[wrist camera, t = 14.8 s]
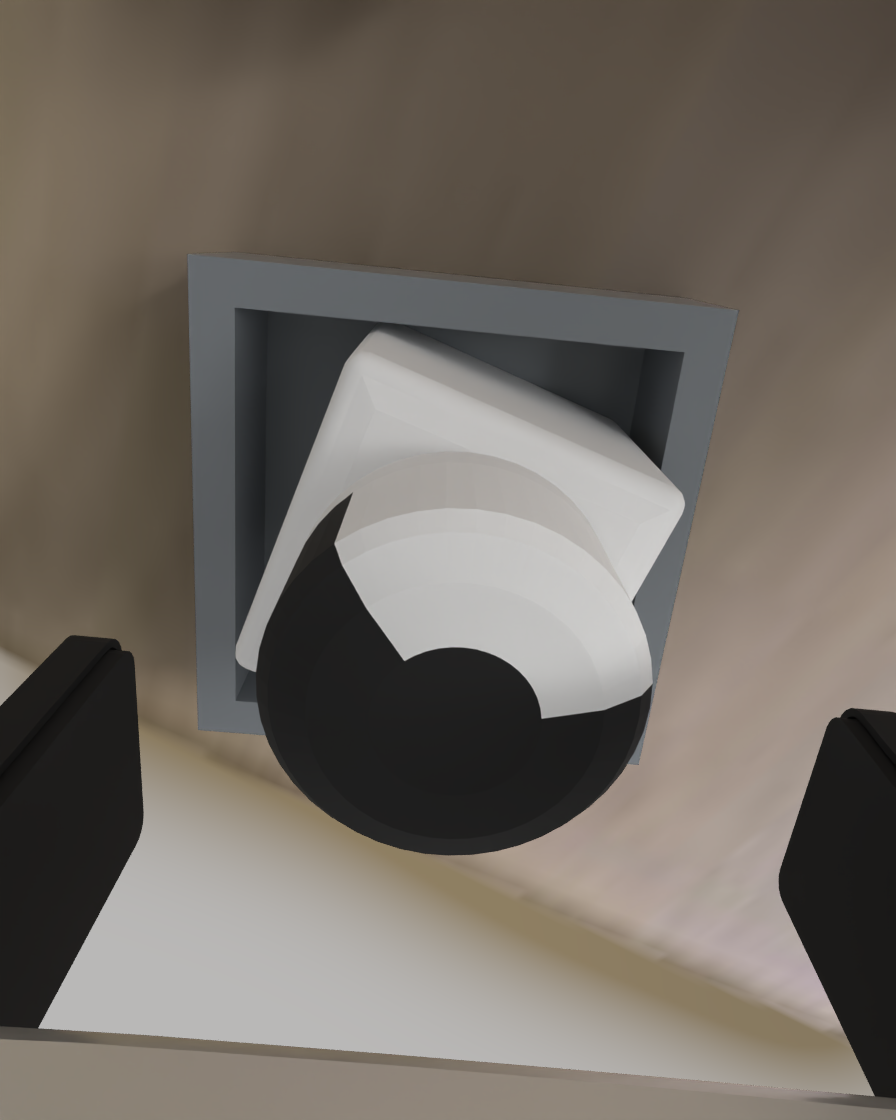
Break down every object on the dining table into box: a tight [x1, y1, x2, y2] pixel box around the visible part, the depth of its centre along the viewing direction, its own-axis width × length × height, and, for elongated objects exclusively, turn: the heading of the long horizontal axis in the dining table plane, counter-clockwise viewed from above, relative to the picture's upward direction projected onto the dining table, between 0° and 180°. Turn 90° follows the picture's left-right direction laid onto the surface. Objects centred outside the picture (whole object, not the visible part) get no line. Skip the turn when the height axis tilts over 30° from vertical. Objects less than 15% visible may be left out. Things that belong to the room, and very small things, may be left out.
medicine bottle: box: [235, 322, 685, 855], centre depth 17 cm, size 7×7×12 cm
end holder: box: [187, 252, 739, 765], centre depth 21 cm, size 12×12×4 cm
